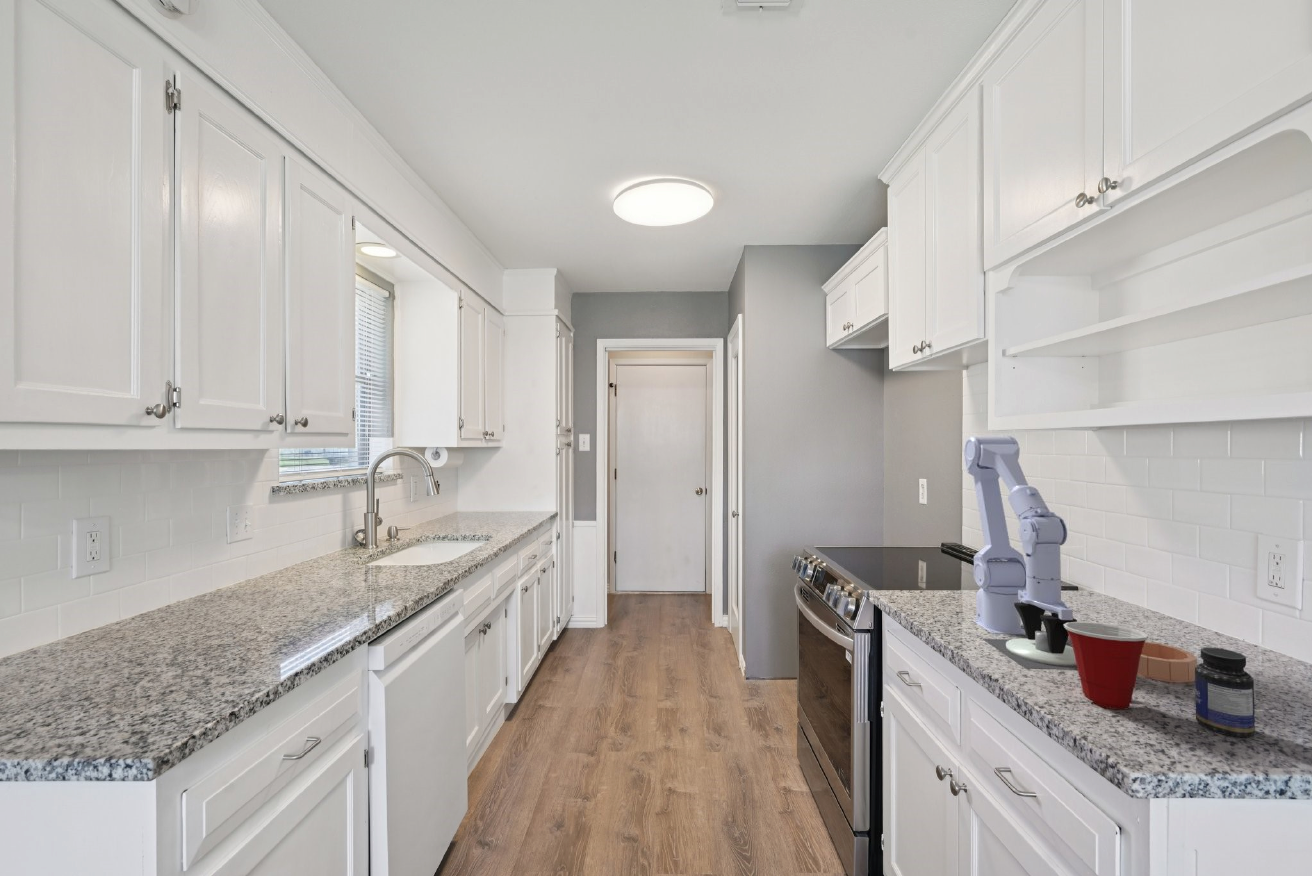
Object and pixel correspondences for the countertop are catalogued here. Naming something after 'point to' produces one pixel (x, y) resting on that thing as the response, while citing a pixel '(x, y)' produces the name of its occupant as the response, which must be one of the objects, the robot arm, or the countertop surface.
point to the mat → (1001, 646)
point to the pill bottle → (1224, 693)
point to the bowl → (1166, 663)
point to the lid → (1040, 651)
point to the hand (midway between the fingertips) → (1044, 646)
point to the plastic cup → (1106, 661)
